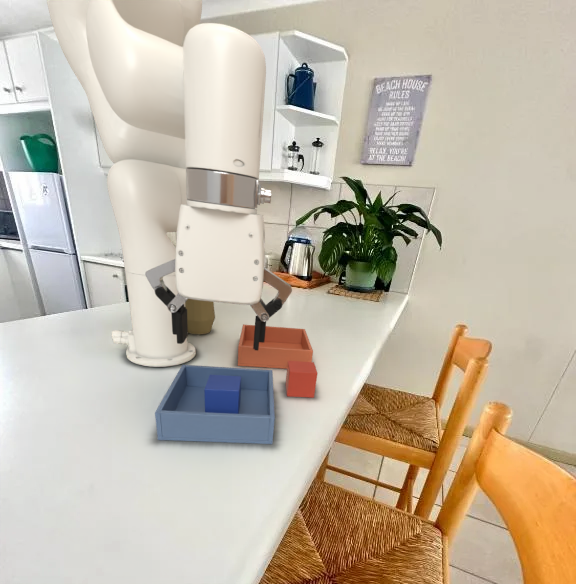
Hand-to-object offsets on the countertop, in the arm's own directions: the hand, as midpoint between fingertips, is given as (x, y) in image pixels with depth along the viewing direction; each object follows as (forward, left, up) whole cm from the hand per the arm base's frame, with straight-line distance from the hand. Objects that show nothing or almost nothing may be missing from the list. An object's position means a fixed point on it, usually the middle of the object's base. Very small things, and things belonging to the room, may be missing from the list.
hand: (219, 343), depth 43 cm
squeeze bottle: (-9, +35, -11) cm, 38 cm away
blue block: (+1, -1, -10) cm, 10 cm away
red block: (+13, +7, -10) cm, 18 cm away
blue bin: (+1, -1, -10) cm, 10 cm away
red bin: (+9, +23, -10) cm, 27 cm away
